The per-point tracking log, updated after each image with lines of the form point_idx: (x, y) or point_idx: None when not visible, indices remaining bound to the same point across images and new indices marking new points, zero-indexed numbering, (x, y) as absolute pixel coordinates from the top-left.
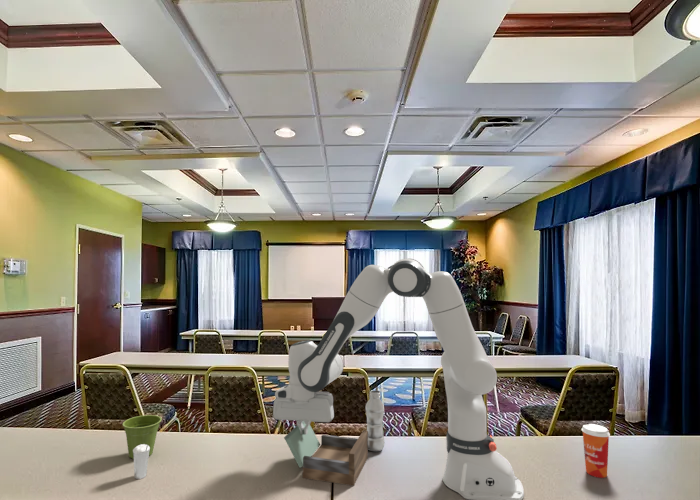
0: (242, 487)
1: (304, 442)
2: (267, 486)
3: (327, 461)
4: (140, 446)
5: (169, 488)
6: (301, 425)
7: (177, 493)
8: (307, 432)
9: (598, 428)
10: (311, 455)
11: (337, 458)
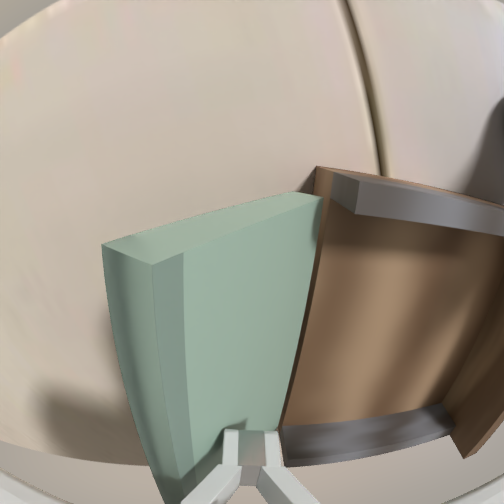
0: (120, 448)
1: (256, 407)
2: None
3: (385, 451)
4: None
5: (7, 432)
6: (225, 498)
7: (31, 447)
8: (277, 436)
9: None
10: (295, 353)
11: (422, 340)
